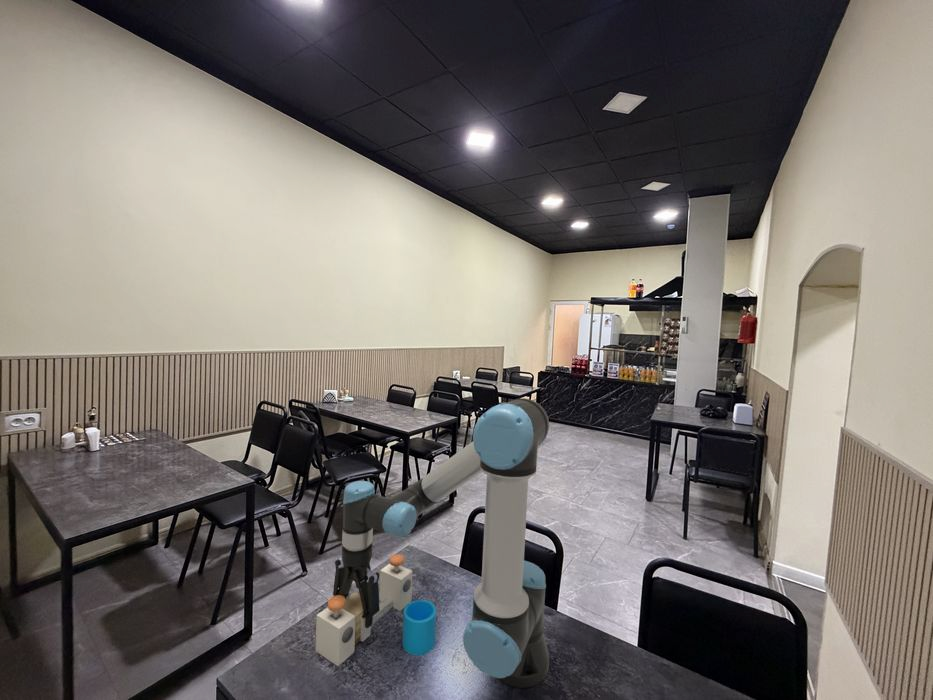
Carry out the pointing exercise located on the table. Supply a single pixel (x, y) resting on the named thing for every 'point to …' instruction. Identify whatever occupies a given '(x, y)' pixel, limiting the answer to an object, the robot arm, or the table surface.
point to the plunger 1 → (336, 605)
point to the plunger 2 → (396, 562)
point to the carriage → (355, 612)
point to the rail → (383, 608)
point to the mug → (419, 627)
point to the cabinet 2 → (396, 586)
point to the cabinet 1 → (335, 635)
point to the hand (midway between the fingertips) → (354, 631)
